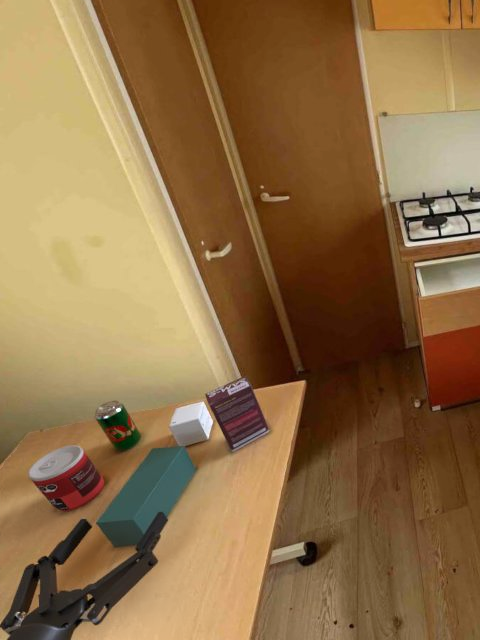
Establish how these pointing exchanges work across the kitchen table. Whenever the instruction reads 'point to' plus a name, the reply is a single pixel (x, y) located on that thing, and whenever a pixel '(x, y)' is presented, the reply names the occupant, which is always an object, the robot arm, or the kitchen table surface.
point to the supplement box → (237, 413)
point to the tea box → (147, 495)
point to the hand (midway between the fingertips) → (125, 519)
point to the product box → (191, 424)
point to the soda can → (117, 425)
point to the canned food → (67, 478)
